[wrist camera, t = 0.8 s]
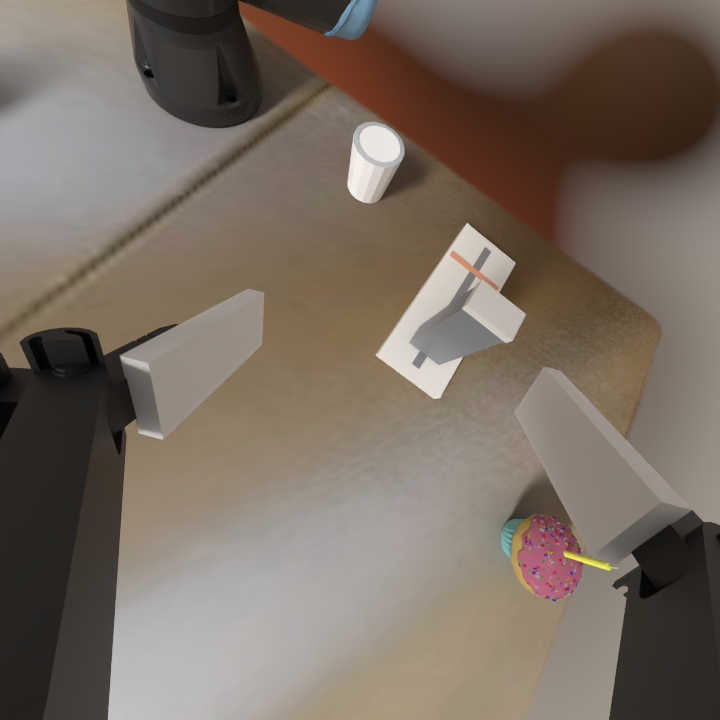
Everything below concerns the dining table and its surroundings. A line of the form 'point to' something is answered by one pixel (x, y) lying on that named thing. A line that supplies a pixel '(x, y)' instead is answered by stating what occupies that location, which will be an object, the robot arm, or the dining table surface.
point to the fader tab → (469, 325)
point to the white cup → (373, 160)
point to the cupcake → (545, 555)
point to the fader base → (443, 306)
